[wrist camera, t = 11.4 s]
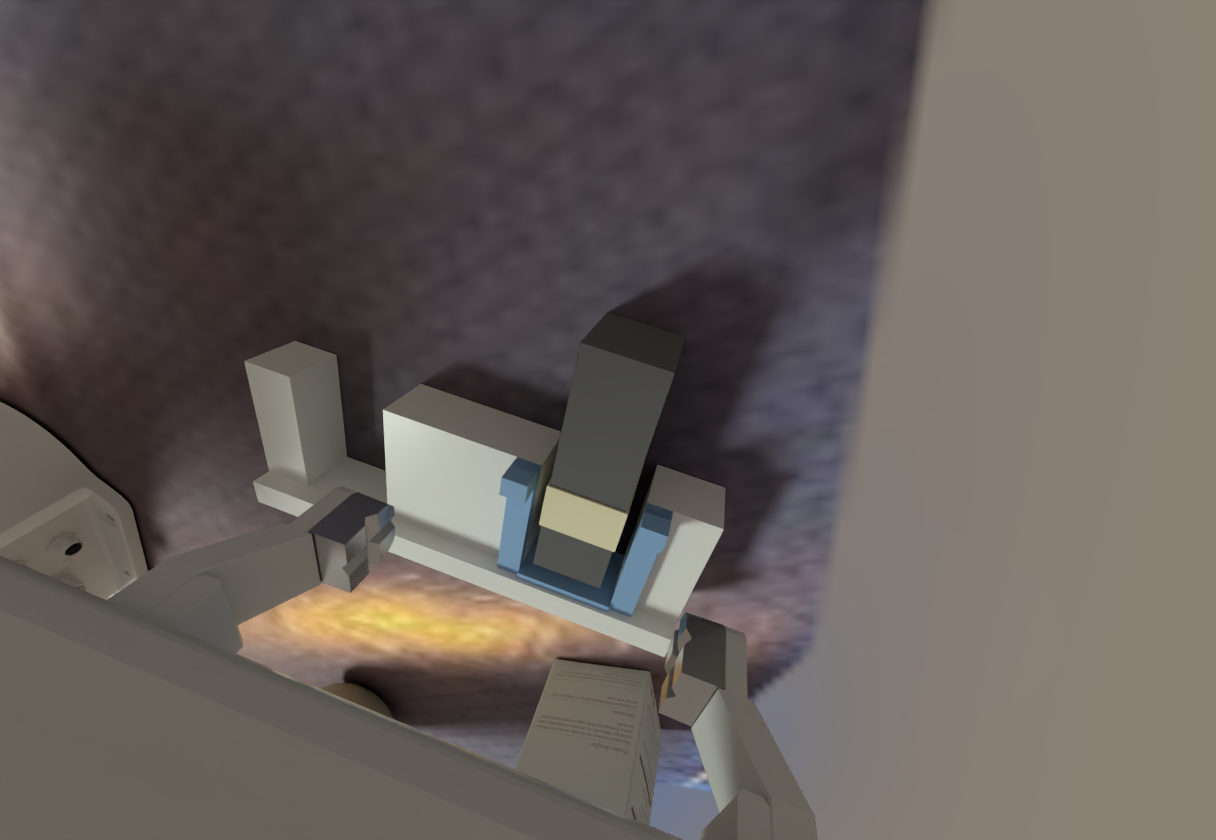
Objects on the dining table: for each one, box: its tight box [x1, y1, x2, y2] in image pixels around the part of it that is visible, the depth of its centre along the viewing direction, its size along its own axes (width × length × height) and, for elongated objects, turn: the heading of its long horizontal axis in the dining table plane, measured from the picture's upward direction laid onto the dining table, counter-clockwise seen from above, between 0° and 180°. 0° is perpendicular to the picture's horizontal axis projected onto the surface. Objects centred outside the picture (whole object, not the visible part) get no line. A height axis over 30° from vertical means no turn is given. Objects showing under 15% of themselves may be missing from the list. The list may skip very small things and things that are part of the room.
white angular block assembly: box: [244, 341, 726, 657], centre depth 24 cm, size 8×24×5 cm, turn 77°
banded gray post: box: [533, 312, 686, 588], centre depth 21 cm, size 12×4×4 cm, turn 167°
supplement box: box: [515, 659, 661, 825], centre depth 28 cm, size 7×7×13 cm
